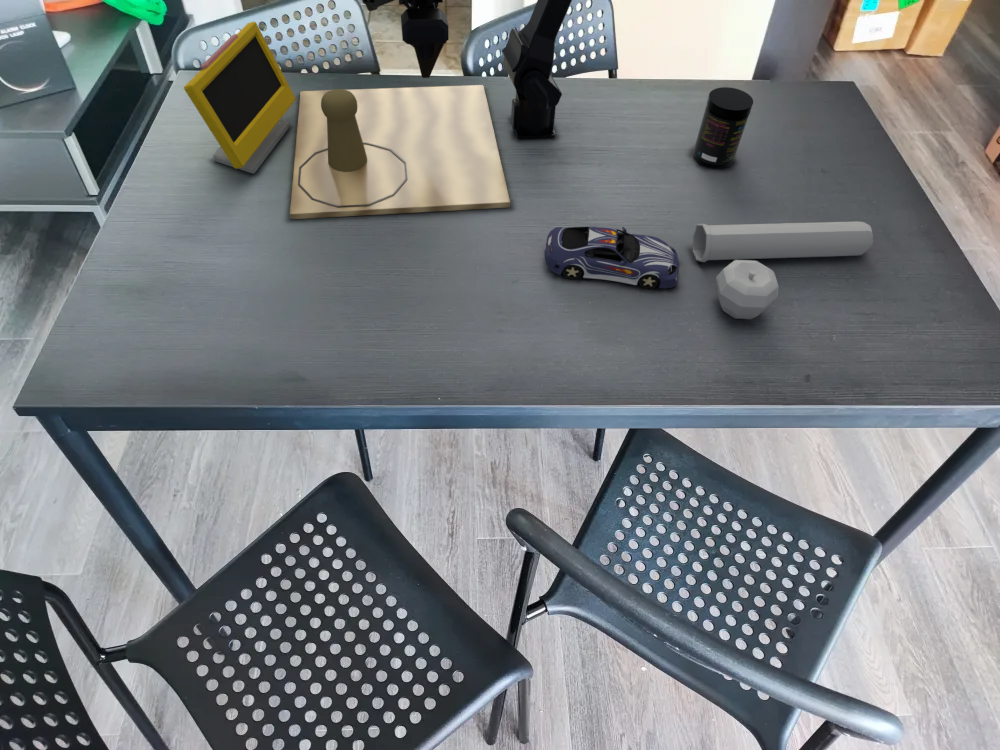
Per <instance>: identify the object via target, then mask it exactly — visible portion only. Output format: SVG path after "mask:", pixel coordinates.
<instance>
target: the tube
mask: <svg viewBox="0 0 1000 750" xmlns="http://www.w3.org/2000/svg"><path fill="white" fill-rule="evenodd" d="M874 242H875V241H874V236H873V230H872V227H871V225H870V224H868V223H866V222H864V221H824V222H823V221H821V222H818V221H817V222H785V223H784V222H783V223H781V222H779V223H748V224H747V223H746V224H745V223H744V224H743V223H742V224H716V225H715V224H709V225H708V224H706V223H697V224H696V226H695V229H694V232H693V234H692V250H691V251H692V253H693V256H694V258H695V260H696V262H701V263H706V262H707V261H723V260H725V261H727V260H755V259H788V258H819V257H849V256H850V257H852V256H863V254H865V253H866V252H867V251H869V249H870V248H871V247H872V246H873V244H874Z"/></svg>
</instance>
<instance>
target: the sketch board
mask: <svg viewBox="0 0 1000 750" xmlns="http://www.w3.org/2000/svg"><path fill="white" fill-rule="evenodd" d="M330 90H331V89H328V90H326V89H325V90H301V91H300V95H299V103H298V104H299V105H298V116H297V126H296V138H295V148H294V149H295V151H294V159H293V160H294V161H293V172H292V183H291V195H290V207H289V217H290V219H291V220H303V219H304V220H305V219H321V218H322V219H323V218H339V217H341V218H342V217H358V216H377V215H378V216H379V215H394V214H413V213H414V214H415V213H431V212H432V213H433V212H451V211H469V210H486V209H505V208H506V209H507V208H508V209H509V208H511V199H510V195H509V191H508V187H507V182H506V177H505V173H504V169H503V164H502V160H501V155H500V151H499V147H498V143H497V138H496V134H495V130H494V124H493V121H492V116H491V112H490V108H489V103H488V98H487V94H486V89H485V86H484V84H469V85H467V84H466V85H443V86H442V85H441V86H439V85H438V86H415V87H414V86H413V87H383V88H381V87H380V88H359V89H358V88H357V89H346V90H347V91H350V92H351V93H352V94H353V95H354V96H355V98H356V100H357V113H356V114H355V116H356V120H357V124H358V127H359V131H360V134H361V138H362V141H363V145H364V148H365V152H366V155H367V163H366V165H365V166H363V167H362V168H360V169H358V170H355V171H351V172H342V171H337V170H334V169H333V168H331V167H330V165H329V164H328V136H327V117H326V116H325V115H324V113H323V111H322V108H321V99H322V97H323V95H324V94H325V93H326V92H328V91H330Z"/></svg>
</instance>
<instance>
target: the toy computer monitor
mask: <svg viewBox="0 0 1000 750" xmlns="http://www.w3.org/2000/svg"><path fill="white" fill-rule="evenodd" d="M200 68H201V69H200V70H199V71H198V72H197V73H196V74H195V75H194V76H193V77H192V78H191V79H190V80H189V81H188V82H187V83H186V84H185V85H184V86H183V89H184V91H185V93H186V94H187V96H188V97H189V99H190V101H191V102H192V104H193V105H194V107H195V109H196V110H197V112H198V113H199V115H200V117H201V118H202V120H203V121H204V123H205V124H206V126H207V127H208V129H209V131H210V132H211V134H212V135H213V137H214V138H215V140H216V142H217V143H218V145H219V146H220V147H219V148H218V149H217V150H216V152H215V153H214V154H213V155H212V157H213V160H214V162H216V163H220V164H221V165H222V164H223V165H226V166H229V167H230V168H231V167H232V168H234V169H235V170H236V169H237V170H240V171H243V172H246V173H250V174H255V173H256V172H257V171H258V170H259V168H260V167H261V165H262V164H263V163H264V161H265V160H266V159H267V158H268V156H269V155H270V153H272V151H273V150H274V148H275V147H276V145H278V143H279V142H280V140H281V139H282V138H283V137H284V135H285V134H286V133H287V131H288V130H289V129H290V122H289V121H281V120H282V118H283V117H284V115H285V114H287V112H288V110H289V109H290V108H291V107H292V105H293V104H294V103H295V101H296V99H297V98H296V96H295V94H294V92H293V90H292V88H291V87H290V85H289V83H288V81H287V79H286V77H285V75H284V73H283V71H282V70H281V68H280V66H279V64H278V62H277V60H276V59H275V56H274V54H273V53H272V50H271V48H270V47H269V44H268V42H267V41H266V39H265V36H264V35H263V33H262V32H261V29H260V28H259V26H258V24H257V22H256V21H251V22H248V23H246V24H245V26H243V27H242V28H241V29H240V30H239V31H238V32H237V33H234V34H232V35H231V36H230V37H229V38H228V39H227V40H226V41H225V42H224V43H223V44H222V45H221V46H220V47H219V48H218V49H217V50H215V52H213V53H212V55H211V56H210V57H209V58H208V59H206V60H205V62H204V63H202V64H201V66H200Z"/></svg>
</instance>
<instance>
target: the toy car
mask: <svg viewBox="0 0 1000 750" xmlns="http://www.w3.org/2000/svg"><path fill="white" fill-rule="evenodd" d="M543 251H544V262H545V263H546V265H547V266H548V267H549V270H551V271H552V272H554V273H556V274H557V275H559V276H561V275H563V276H564V277H565V278H566V279H569V280H576V279H579V278H580V277H581V276H582V278H583V279H594V280H604V281H612V282H617V283H622V284H627V285H633V286H637V285H638V283H639V286H640V287H642V288H643V289H646V290H652V289H655V288H656V287H657V286H658V289H670V288H674V287H676V286H677V285H678V280H677V279H678V278H677V276H678V274H679V267H680V265H679V264H680V262H679V256H678V252H677V250H676V249H675V248H674V247H672V246H671V245H669V243H668V242H665V241H664V240H662V239H661V238H659V237H656V236H653V235H646V234H636V233H635V234H634V233H629V232H628V231H627V228H625V227H624V226H621V229H618V228H615V227H608V226H593V225H592V226H555V227H554V228H553V229H551V230H550V231H549V232H548V234H547V236H546V242H545V245H544V248H543ZM582 273H583V274H582Z"/></svg>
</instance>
